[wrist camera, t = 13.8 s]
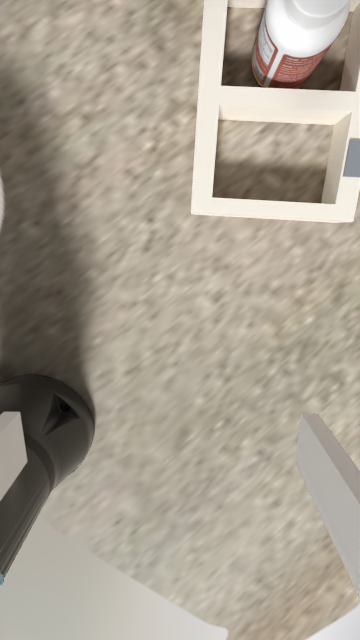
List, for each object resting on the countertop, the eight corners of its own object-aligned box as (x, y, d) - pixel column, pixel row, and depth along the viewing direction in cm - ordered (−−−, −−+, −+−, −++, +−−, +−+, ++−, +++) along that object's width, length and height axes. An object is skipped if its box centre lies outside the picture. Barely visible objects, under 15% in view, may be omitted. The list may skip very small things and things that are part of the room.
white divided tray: (191, 214, 36) (190, 212, 32) (206, -14, 30) (207, -52, 26) (339, 222, 35) (358, 221, 31) (382, -8, 30) (412, -46, 26)
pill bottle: (327, 46, 31) (395, -51, 20) (289, 108, 33) (334, 50, 22) (274, 8, 30) (315, -112, 20) (238, 73, 32) (258, -5, 21)
